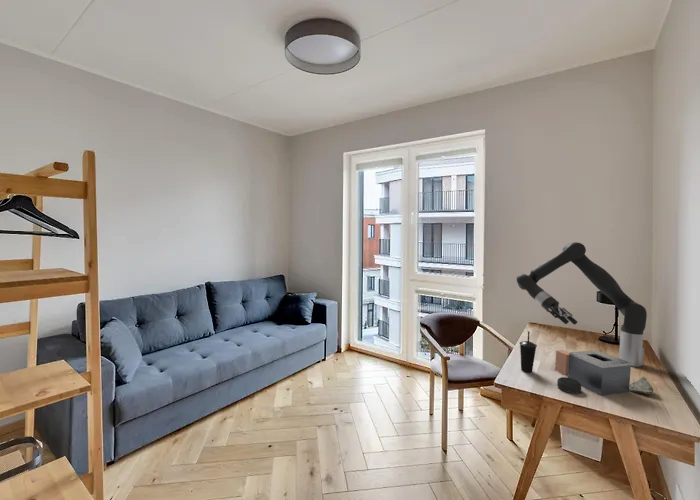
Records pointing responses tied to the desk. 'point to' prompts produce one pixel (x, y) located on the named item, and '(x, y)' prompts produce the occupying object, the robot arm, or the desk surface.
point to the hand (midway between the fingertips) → (571, 323)
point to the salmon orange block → (562, 361)
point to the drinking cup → (527, 355)
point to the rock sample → (641, 386)
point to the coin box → (599, 372)
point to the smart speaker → (569, 385)
